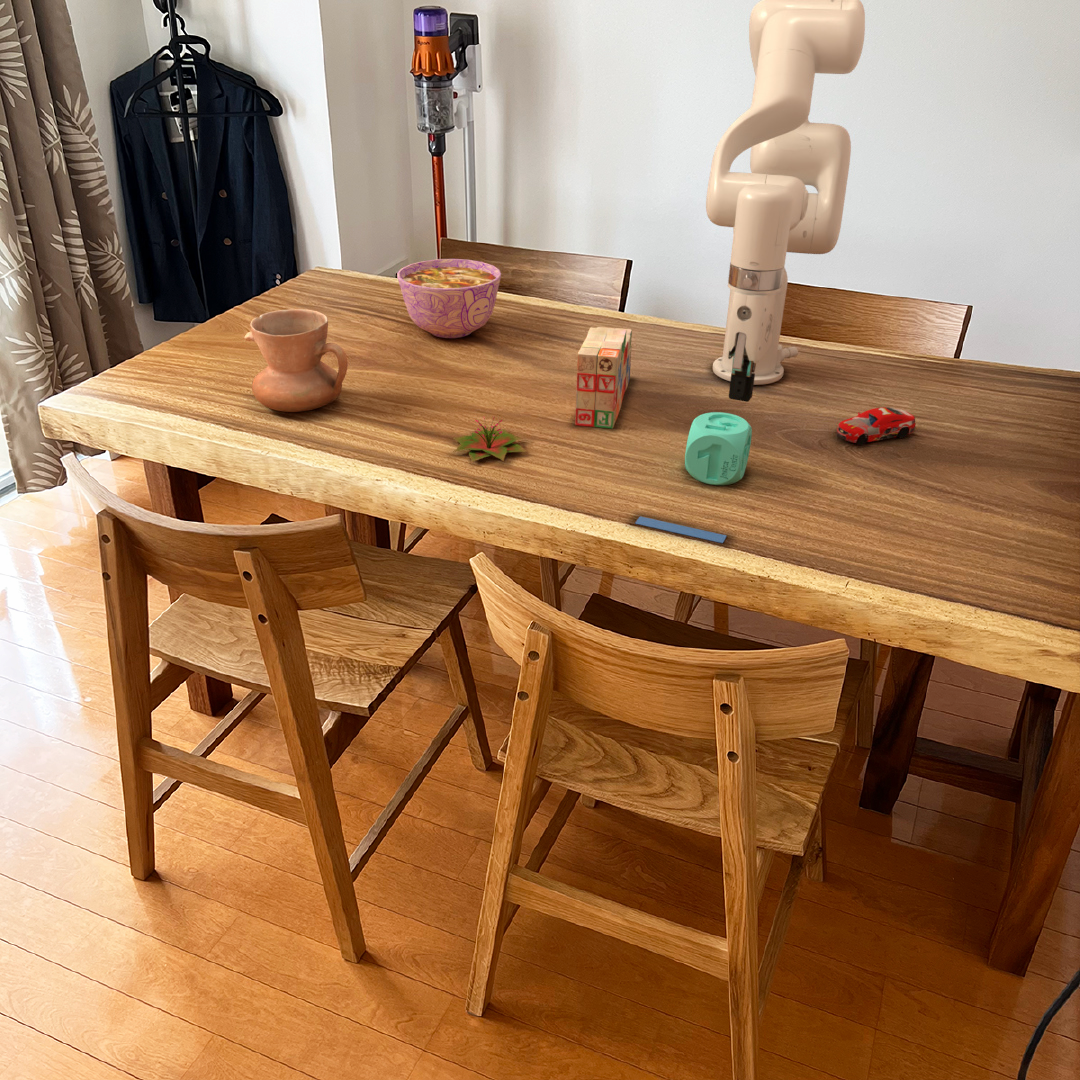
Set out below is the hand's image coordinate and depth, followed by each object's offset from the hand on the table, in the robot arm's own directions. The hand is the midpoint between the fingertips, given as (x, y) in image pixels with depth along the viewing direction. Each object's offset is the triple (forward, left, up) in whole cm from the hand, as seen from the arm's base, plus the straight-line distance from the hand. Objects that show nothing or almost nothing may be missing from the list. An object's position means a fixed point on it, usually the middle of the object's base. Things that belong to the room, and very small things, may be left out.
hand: (740, 398), depth 148 cm
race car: (-22, +7, -8) cm, 24 cm away
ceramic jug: (+56, -44, -8) cm, 72 cm away
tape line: (+22, +18, -8) cm, 29 cm away
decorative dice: (+8, +7, -8) cm, 13 cm away
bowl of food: (+20, -66, -8) cm, 69 cm away
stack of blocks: (+10, -23, -8) cm, 26 cm away
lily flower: (+35, -15, -8) cm, 39 cm away
